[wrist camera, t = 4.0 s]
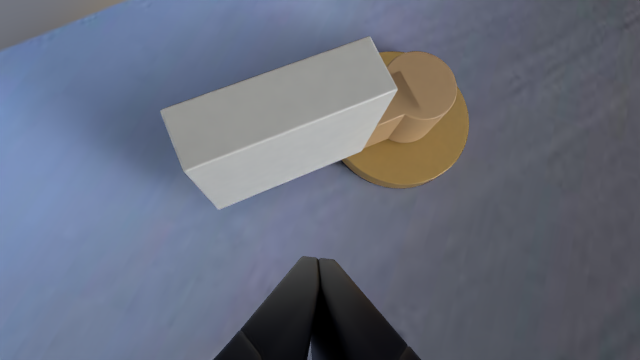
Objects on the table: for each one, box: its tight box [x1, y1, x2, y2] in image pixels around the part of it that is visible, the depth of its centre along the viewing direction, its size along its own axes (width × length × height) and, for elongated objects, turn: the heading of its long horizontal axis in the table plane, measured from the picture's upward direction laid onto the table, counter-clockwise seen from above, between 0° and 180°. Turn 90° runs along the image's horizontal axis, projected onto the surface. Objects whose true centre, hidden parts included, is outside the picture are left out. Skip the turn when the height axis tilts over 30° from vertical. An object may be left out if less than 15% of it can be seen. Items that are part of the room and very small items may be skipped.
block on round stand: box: [160, 36, 457, 210], centre depth 18 cm, size 13×4×7 cm, turn 114°
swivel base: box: [342, 51, 469, 188], centre depth 23 cm, size 8×8×1 cm
